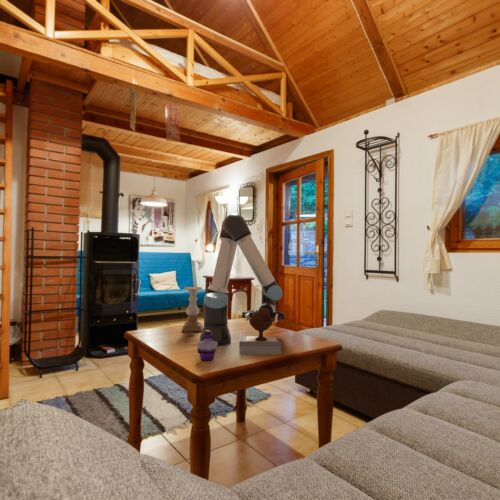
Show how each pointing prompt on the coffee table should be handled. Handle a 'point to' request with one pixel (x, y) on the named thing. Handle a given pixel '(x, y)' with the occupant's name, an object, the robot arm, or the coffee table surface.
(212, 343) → the potion bottle
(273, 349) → the step dock
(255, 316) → the ice cream bowl
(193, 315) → the candle holder
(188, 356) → the coffee table surface
